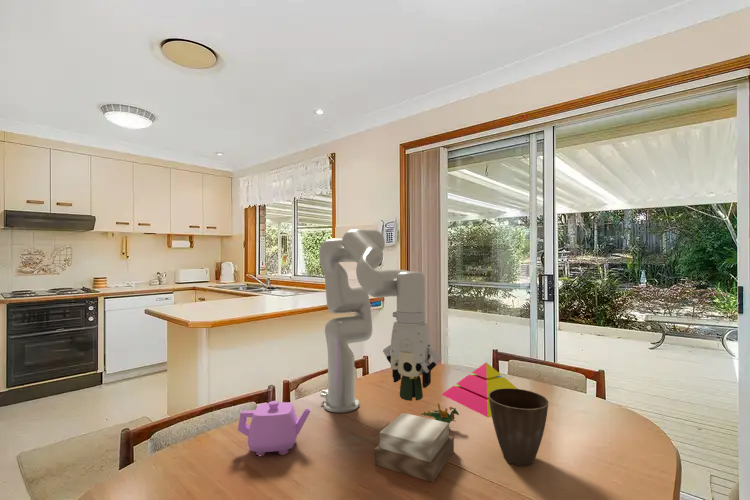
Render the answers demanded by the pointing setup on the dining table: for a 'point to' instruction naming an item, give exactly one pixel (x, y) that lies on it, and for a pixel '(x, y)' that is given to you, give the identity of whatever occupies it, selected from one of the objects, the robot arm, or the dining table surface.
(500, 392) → the plant pot
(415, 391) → the character mug
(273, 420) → the teapot
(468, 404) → the pyramid toy
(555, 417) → the dining table surface
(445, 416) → the figurine
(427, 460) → the grey stacked block
